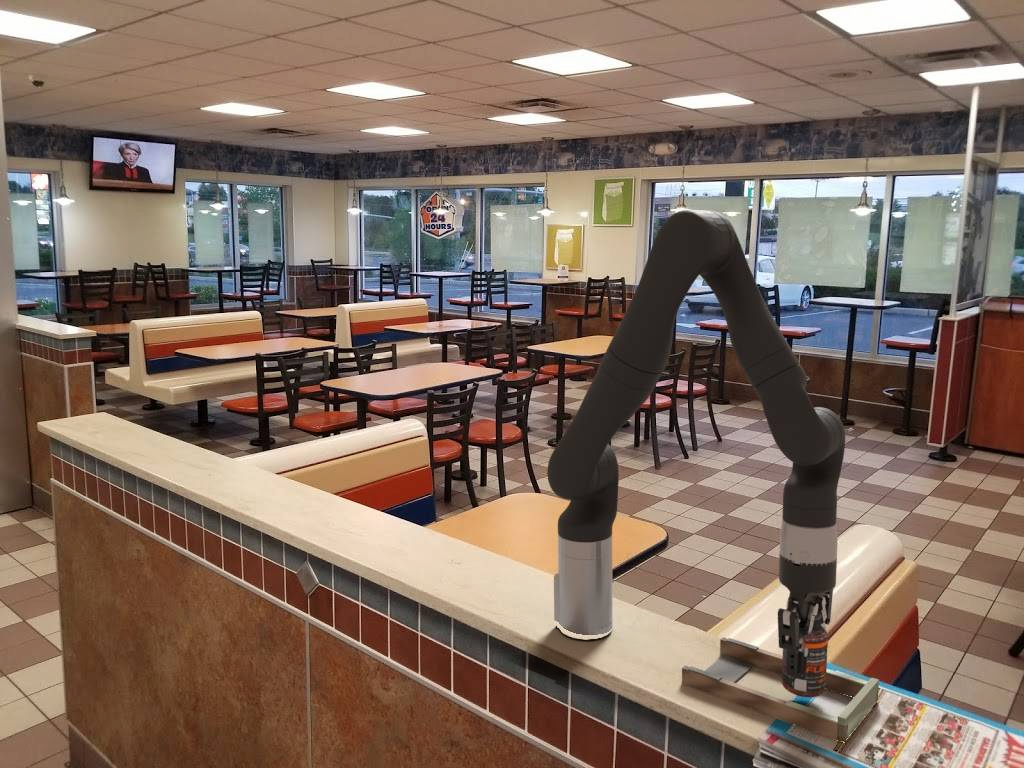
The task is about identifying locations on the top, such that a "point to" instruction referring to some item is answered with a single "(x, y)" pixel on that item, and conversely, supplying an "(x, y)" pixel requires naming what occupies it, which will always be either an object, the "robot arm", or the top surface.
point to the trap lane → (742, 660)
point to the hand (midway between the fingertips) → (804, 664)
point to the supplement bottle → (809, 664)
